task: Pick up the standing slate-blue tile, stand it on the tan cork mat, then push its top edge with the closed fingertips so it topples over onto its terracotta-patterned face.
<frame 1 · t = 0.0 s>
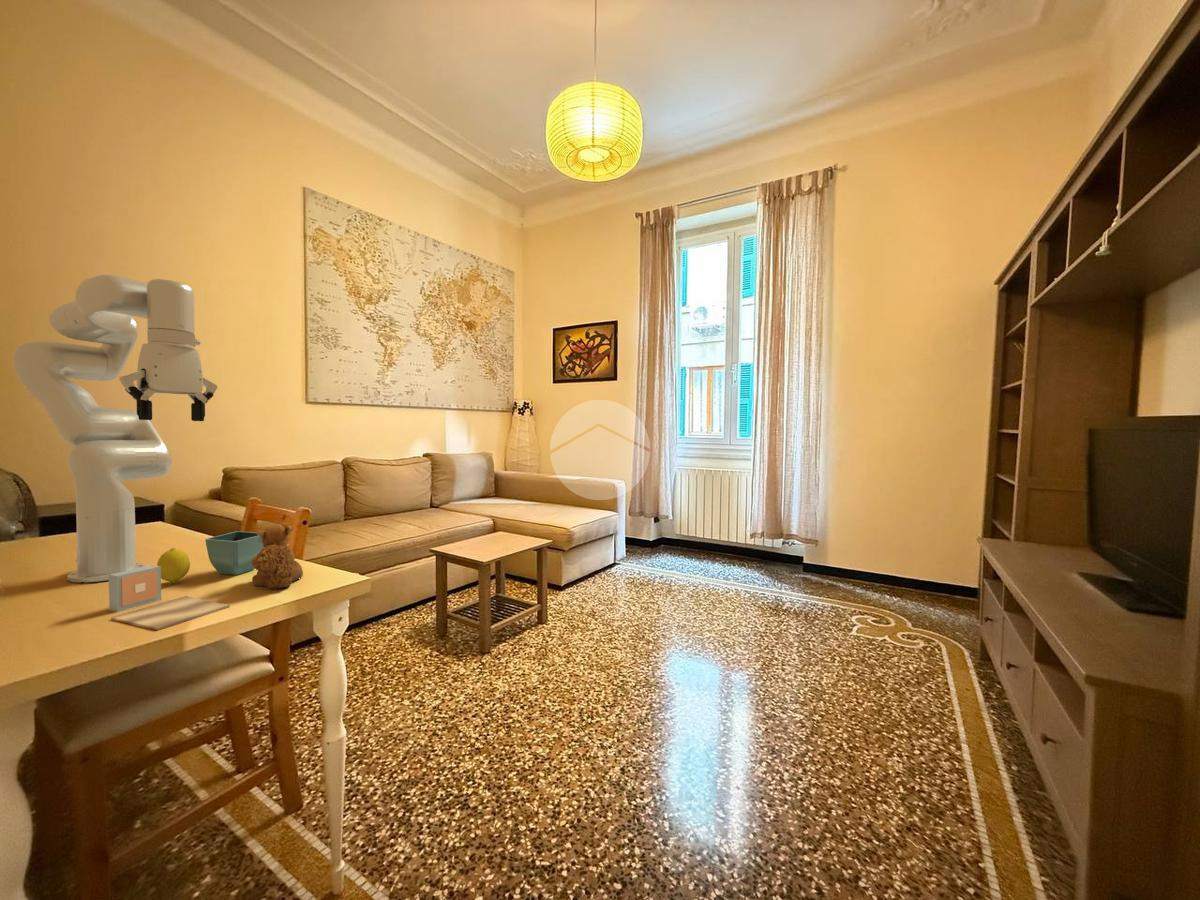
hand: (172, 420, 103), 37 cm above the table, tool pointing down, fingers open, 9 cm apart
brown fuzzy figure: (277, 585, 109), on the table
flower pot: (237, 572, 117), on the table
tile: (136, 605, 95), on the table
lemon: (173, 584, 108), on the table
cork mat: (172, 612, 91), on the table
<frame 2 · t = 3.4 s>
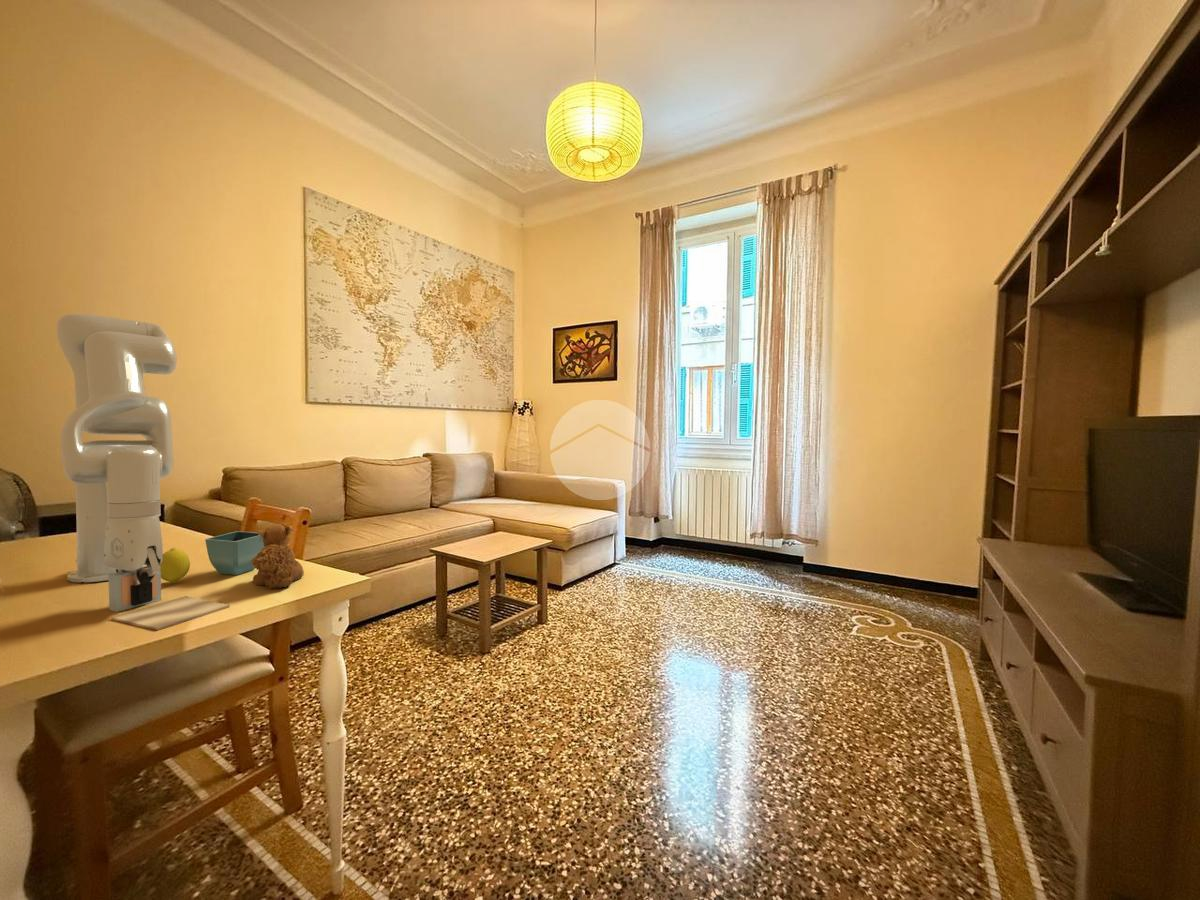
hand: (136, 601, 95), 1 cm above the table, tool pointing down, fingers closed on tile, 2 cm apart
tile: (136, 604, 95), on the table, touching gripper
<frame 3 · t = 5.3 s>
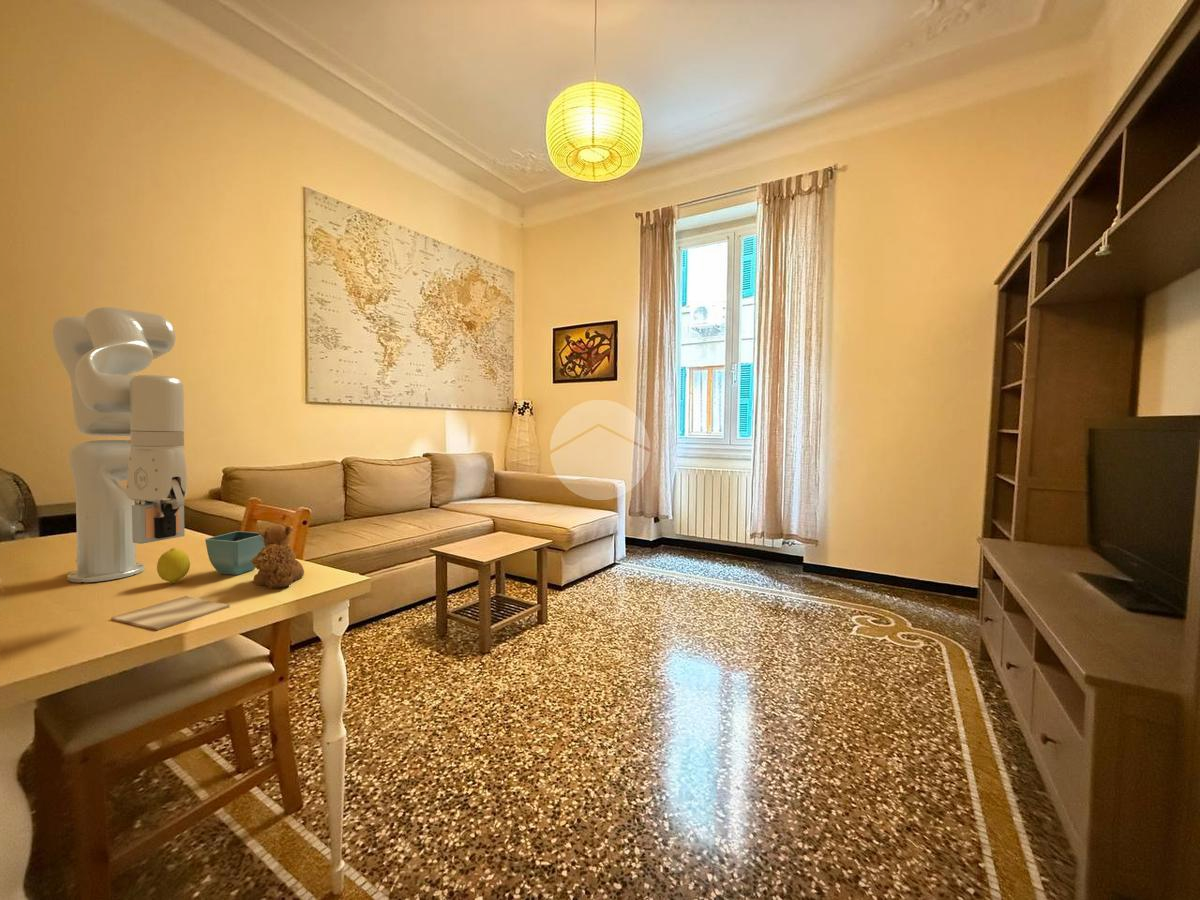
hand: (159, 535, 92), 15 cm above the table, tool pointing down, fingers closed on tile, 2 cm apart
tile: (159, 539, 92), point 14 cm above the table, touching gripper
everything else where it was.
when the fingers open (2 cm above the table, at t = 7.4 s): tile stays where it is, resting on cork mat.
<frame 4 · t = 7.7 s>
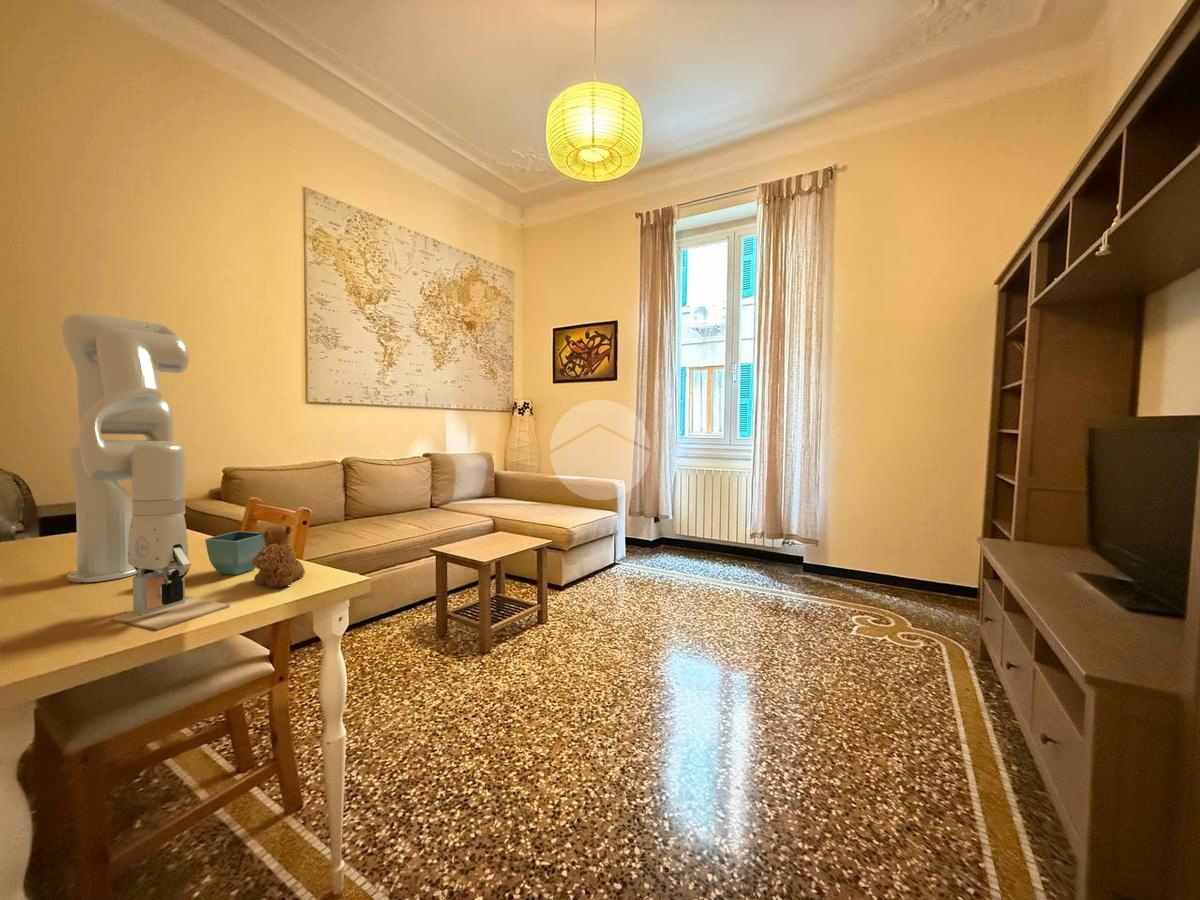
hand: (160, 599, 92), 2 cm above the table, tool pointing down, fingers open, 6 cm apart
tile: (160, 608, 92), resting on cork mat
everything else where it was.
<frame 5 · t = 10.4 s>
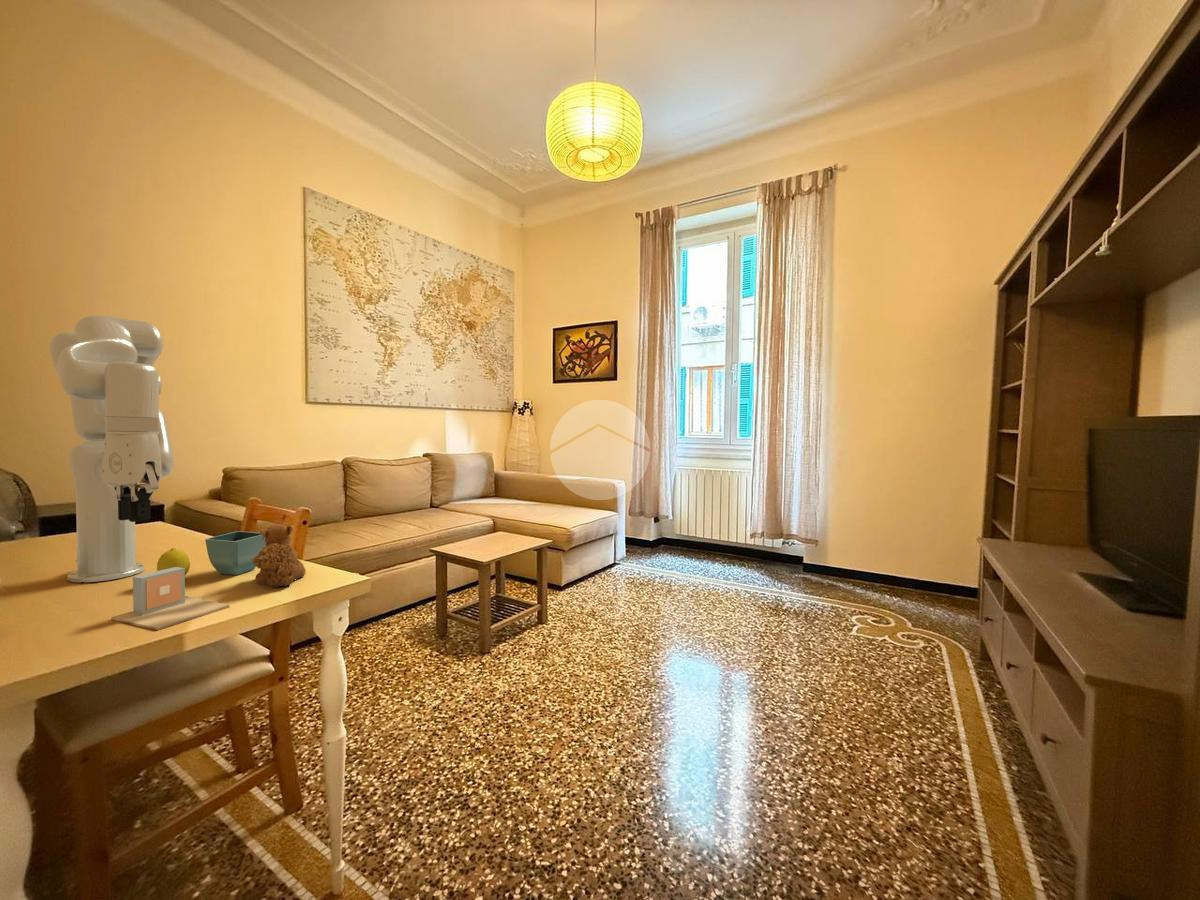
hand: (134, 519, 94), 17 cm above the table, tool pointing down, fingers closed
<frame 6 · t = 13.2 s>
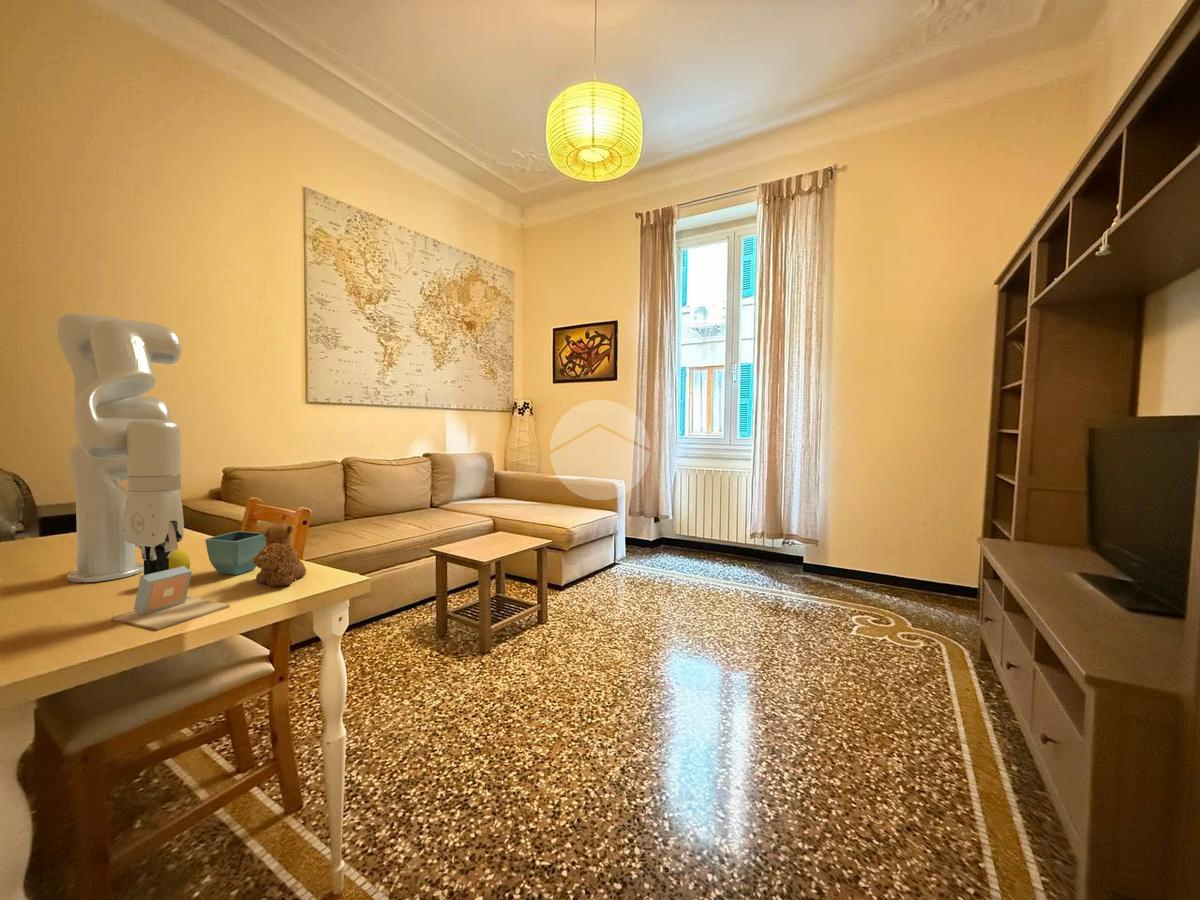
hand: (156, 578, 92), 6 cm above the table, tool pointing down, fingers closed
tile: (160, 606, 92), point 1 cm above the table, tilted 18°, touching cork mat
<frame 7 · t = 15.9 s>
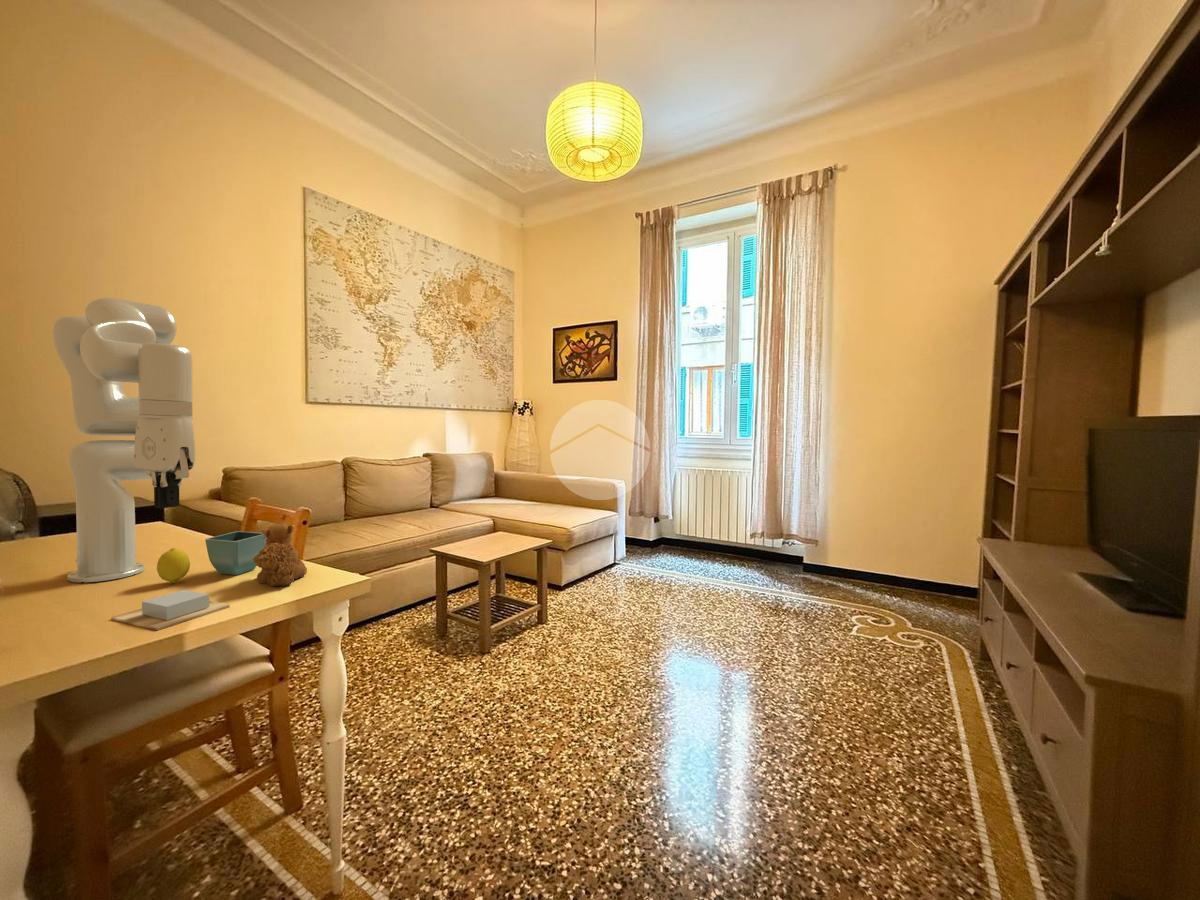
hand: (167, 506, 91), 20 cm above the table, tool pointing down, fingers closed
tile: (164, 601, 92), point 2 cm above the table, tilted 90°, touching cork mat
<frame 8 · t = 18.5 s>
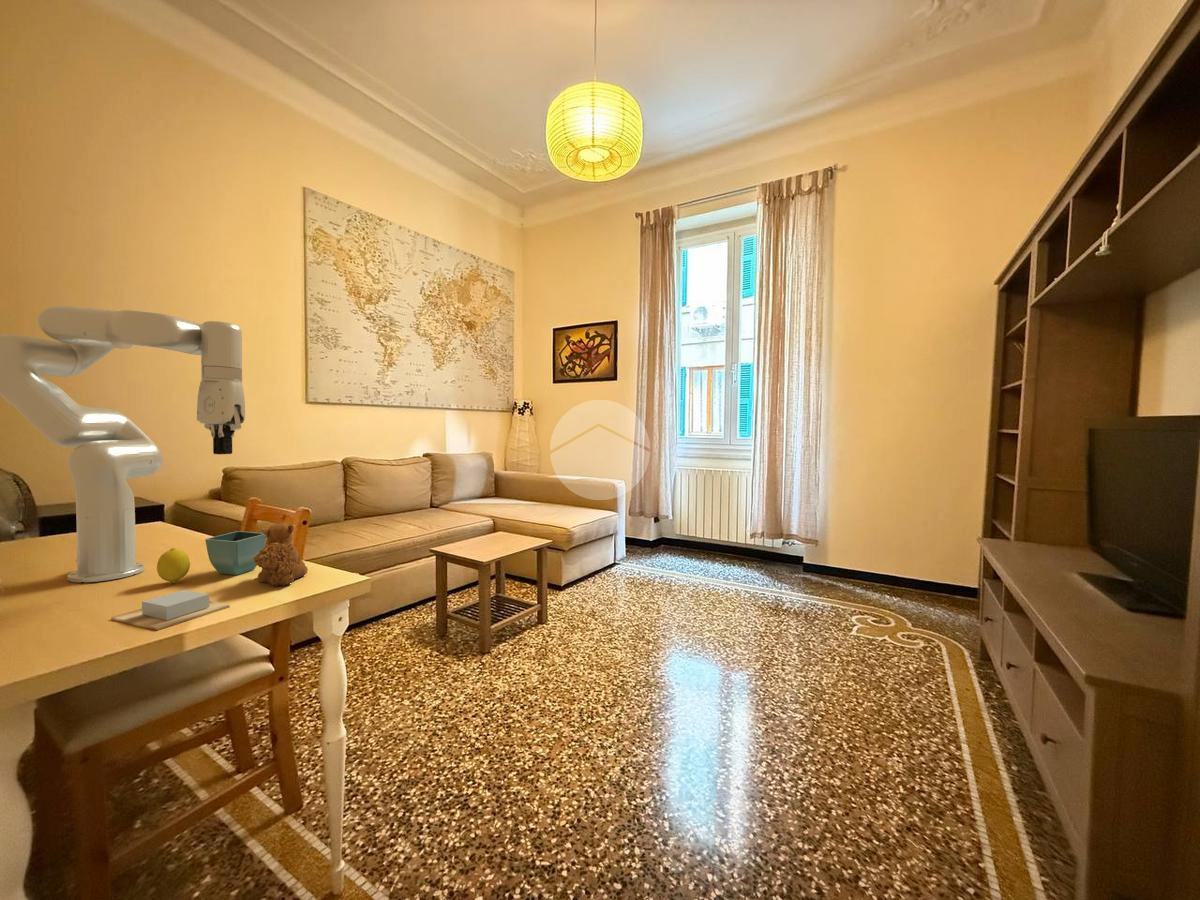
hand: (222, 453, 113), 29 cm above the table, tool pointing down, fingers closed
at the end: tile tilted 90°; tile inside the target area (3.0 cm from its centre), point 1.8 cm above the table; the gripper is holding nothing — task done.
